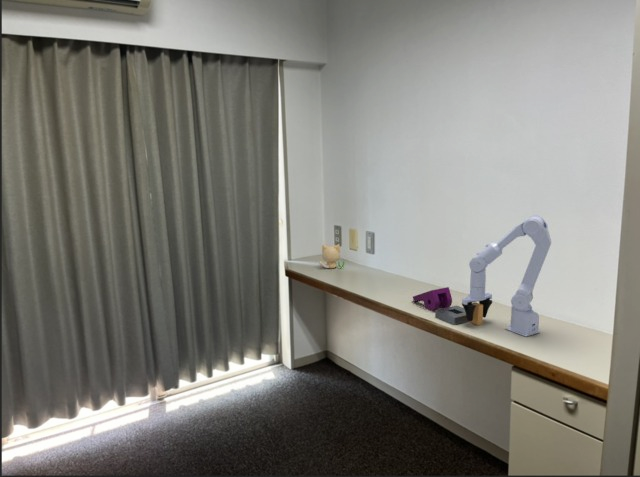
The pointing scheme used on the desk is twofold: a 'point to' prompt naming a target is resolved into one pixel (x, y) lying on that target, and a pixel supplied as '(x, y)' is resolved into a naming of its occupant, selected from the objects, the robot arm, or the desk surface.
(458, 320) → the grey slotted square block
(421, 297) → the mounting bracket
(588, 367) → the desk surface
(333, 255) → the kitten
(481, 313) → the orange-brown rectangular block
